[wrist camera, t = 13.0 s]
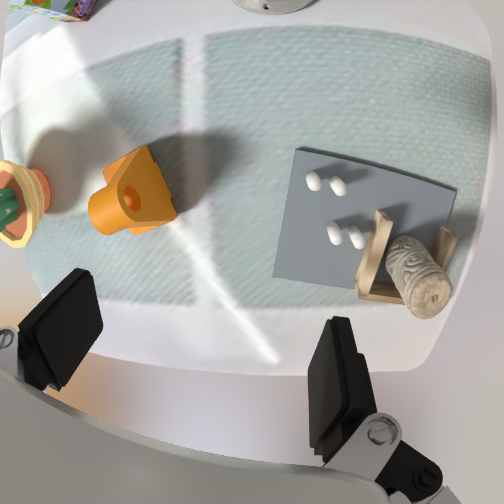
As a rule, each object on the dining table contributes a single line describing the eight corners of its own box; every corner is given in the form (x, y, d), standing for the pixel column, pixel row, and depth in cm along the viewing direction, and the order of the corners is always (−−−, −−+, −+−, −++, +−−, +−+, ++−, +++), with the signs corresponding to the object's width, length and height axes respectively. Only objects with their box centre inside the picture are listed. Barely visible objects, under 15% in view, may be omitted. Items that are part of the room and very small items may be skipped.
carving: (407, 220, 35) (447, 261, 24) (426, 259, 37) (462, 305, 26) (371, 245, 37) (399, 295, 26) (392, 281, 39) (420, 334, 29)
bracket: (111, 166, 37) (58, 188, 26) (149, 144, 35) (100, 159, 24) (140, 229, 41) (99, 268, 30) (179, 213, 39) (143, 252, 28)
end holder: (376, 209, 35) (386, 220, 31) (445, 227, 34) (458, 238, 31) (353, 283, 40) (359, 299, 36) (419, 292, 40) (428, 307, 36)
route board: (295, 149, 34) (297, 153, 29) (452, 190, 33) (470, 200, 28) (272, 273, 42) (271, 292, 37) (414, 294, 41) (425, 312, 37)
